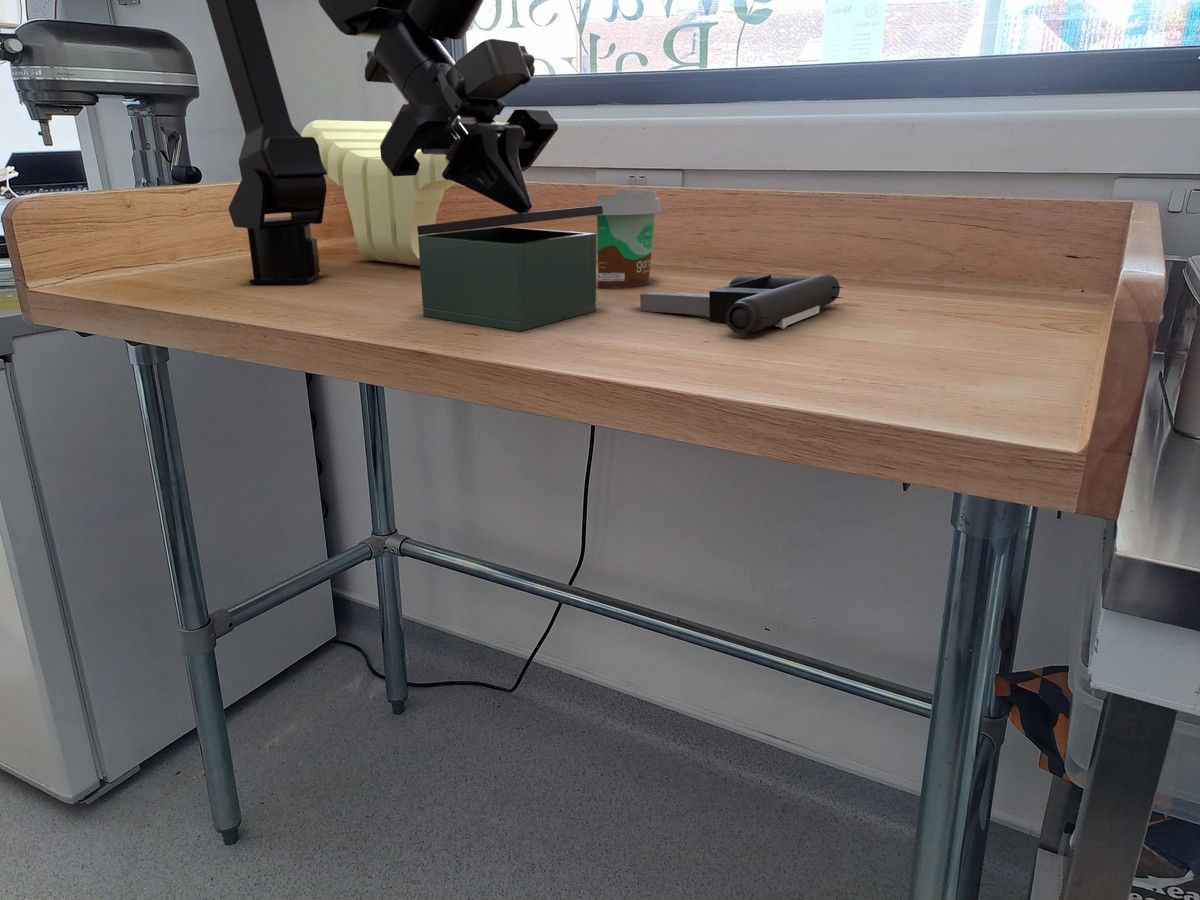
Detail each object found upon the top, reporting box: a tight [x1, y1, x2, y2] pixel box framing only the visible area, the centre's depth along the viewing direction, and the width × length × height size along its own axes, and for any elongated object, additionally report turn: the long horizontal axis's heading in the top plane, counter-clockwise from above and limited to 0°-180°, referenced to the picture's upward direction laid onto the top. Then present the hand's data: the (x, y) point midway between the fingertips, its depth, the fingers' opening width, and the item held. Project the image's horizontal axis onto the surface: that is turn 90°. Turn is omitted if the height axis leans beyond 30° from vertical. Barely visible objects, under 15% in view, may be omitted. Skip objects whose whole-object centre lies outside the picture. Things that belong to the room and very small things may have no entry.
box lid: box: [417, 205, 603, 235], centre depth 78 cm, size 12×12×1 cm
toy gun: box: [639, 273, 844, 335], centre depth 81 cm, size 3×20×16 cm
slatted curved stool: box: [300, 117, 552, 267], centre depth 113 cm, size 30×16×18 cm, turn 54°
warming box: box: [418, 225, 597, 332], centre depth 80 cm, size 12×12×7 cm
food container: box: [595, 188, 662, 289], centre depth 97 cm, size 12×6×10 cm, turn 168°
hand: (527, 210), depth 77 cm, fingers closed
